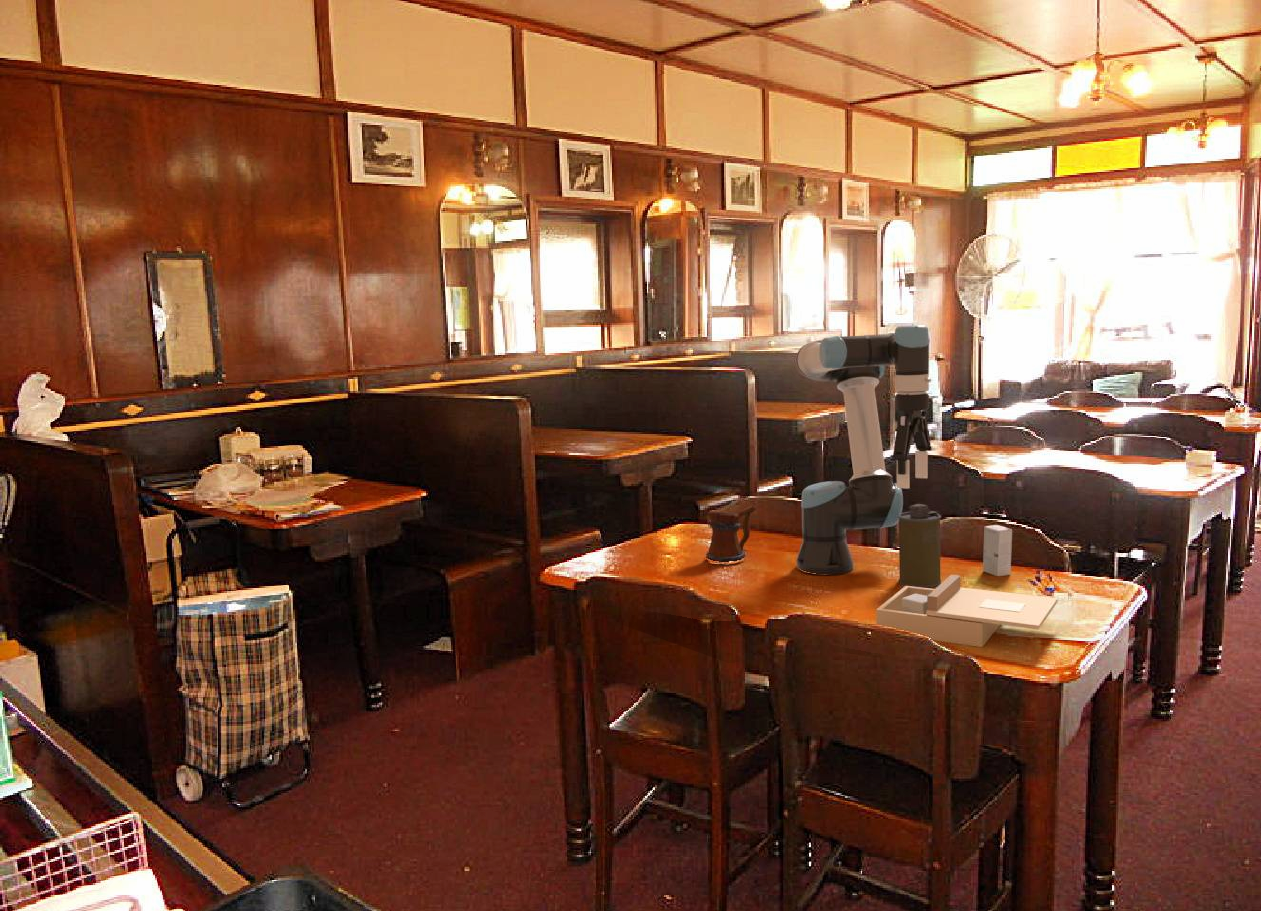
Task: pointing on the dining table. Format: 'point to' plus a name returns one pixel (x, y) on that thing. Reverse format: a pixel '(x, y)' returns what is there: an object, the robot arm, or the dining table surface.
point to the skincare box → (997, 550)
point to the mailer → (932, 622)
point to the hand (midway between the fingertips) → (912, 483)
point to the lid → (988, 605)
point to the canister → (919, 547)
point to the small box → (914, 604)
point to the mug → (728, 535)
